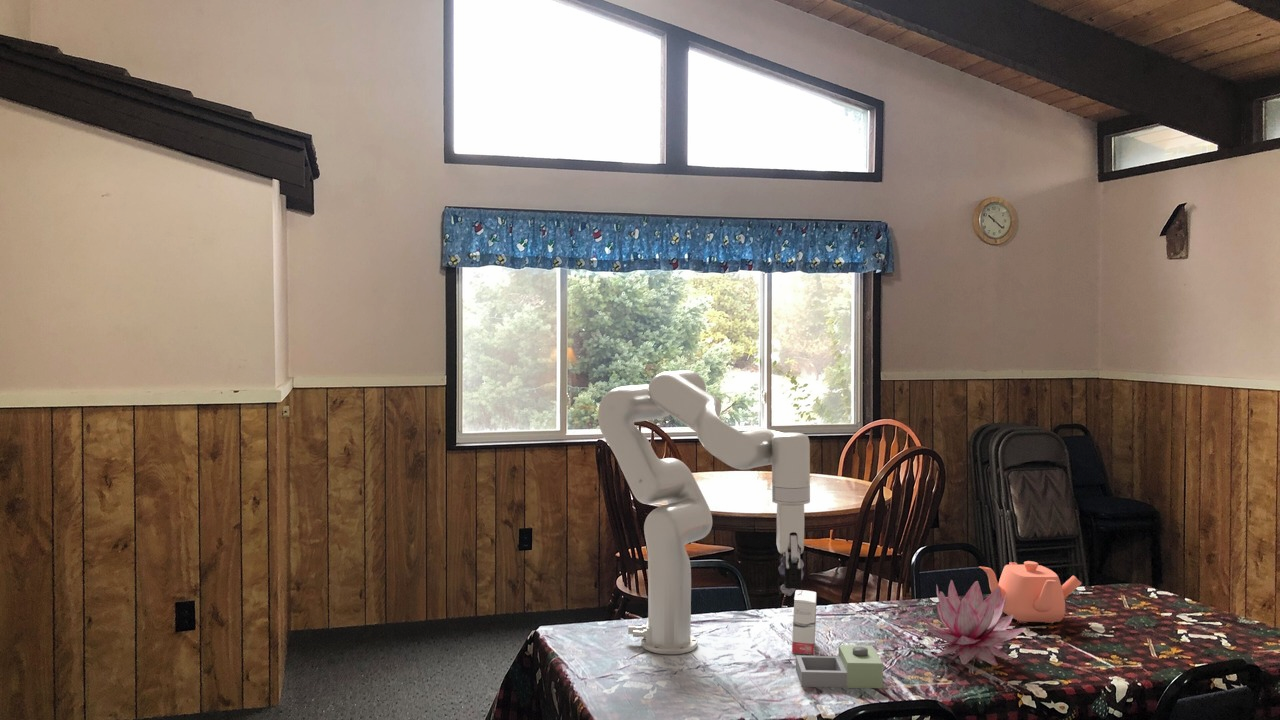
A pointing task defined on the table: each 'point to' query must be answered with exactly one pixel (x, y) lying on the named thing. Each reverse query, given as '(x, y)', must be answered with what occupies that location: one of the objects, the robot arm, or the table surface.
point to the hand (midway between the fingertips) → (791, 582)
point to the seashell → (782, 571)
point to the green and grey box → (842, 669)
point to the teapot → (1032, 592)
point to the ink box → (804, 622)
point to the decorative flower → (973, 624)
